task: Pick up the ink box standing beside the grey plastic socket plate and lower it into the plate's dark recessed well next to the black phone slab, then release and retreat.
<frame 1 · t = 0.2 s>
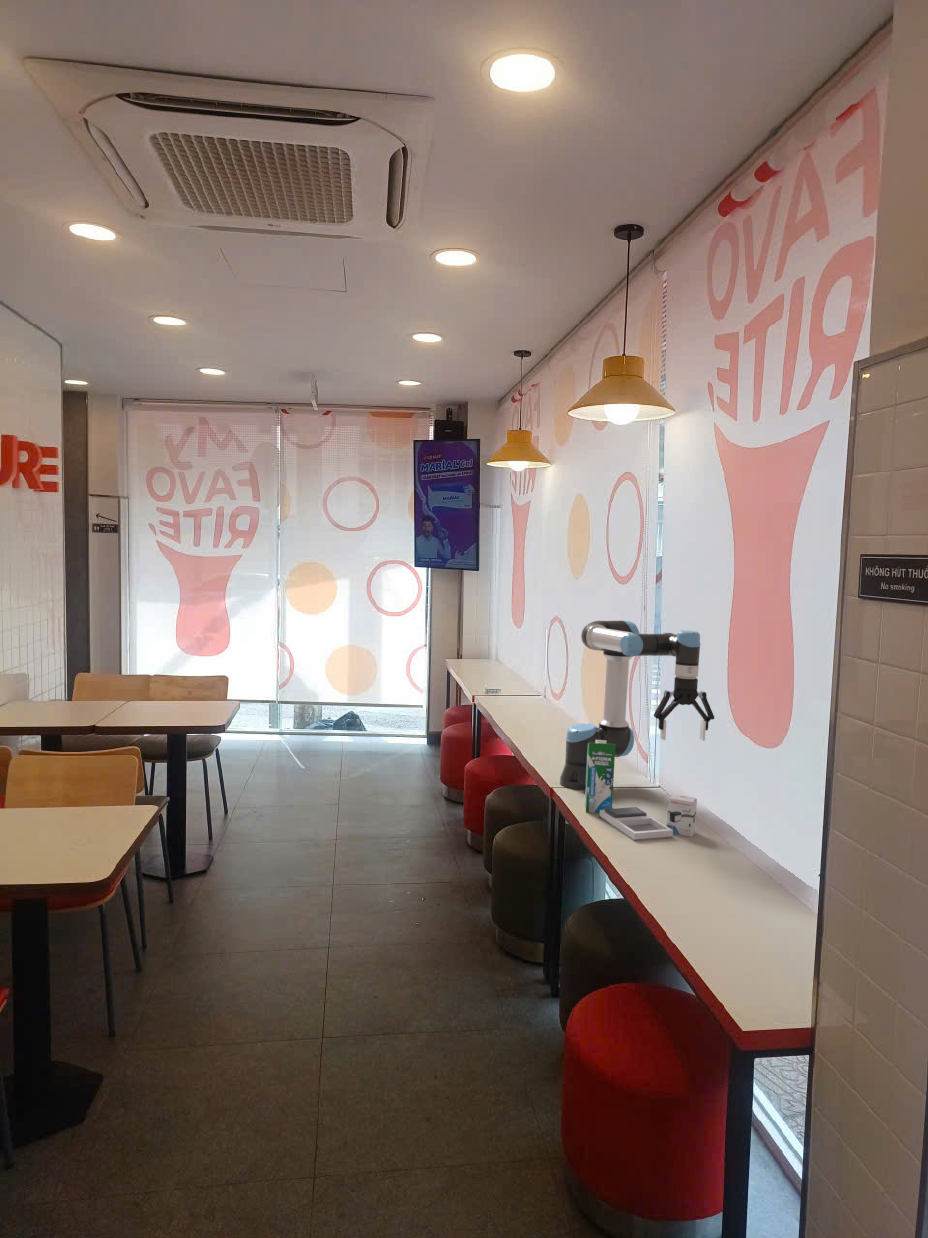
hand: (682, 739, 279), 29 cm above the table, fingers open, 13 cm apart
phone slab: (625, 813, 282), resting on socket plate
ink box: (680, 833, 273), on the table
socket plate: (634, 827, 277), on the table
milk carton: (598, 809, 294), on the table
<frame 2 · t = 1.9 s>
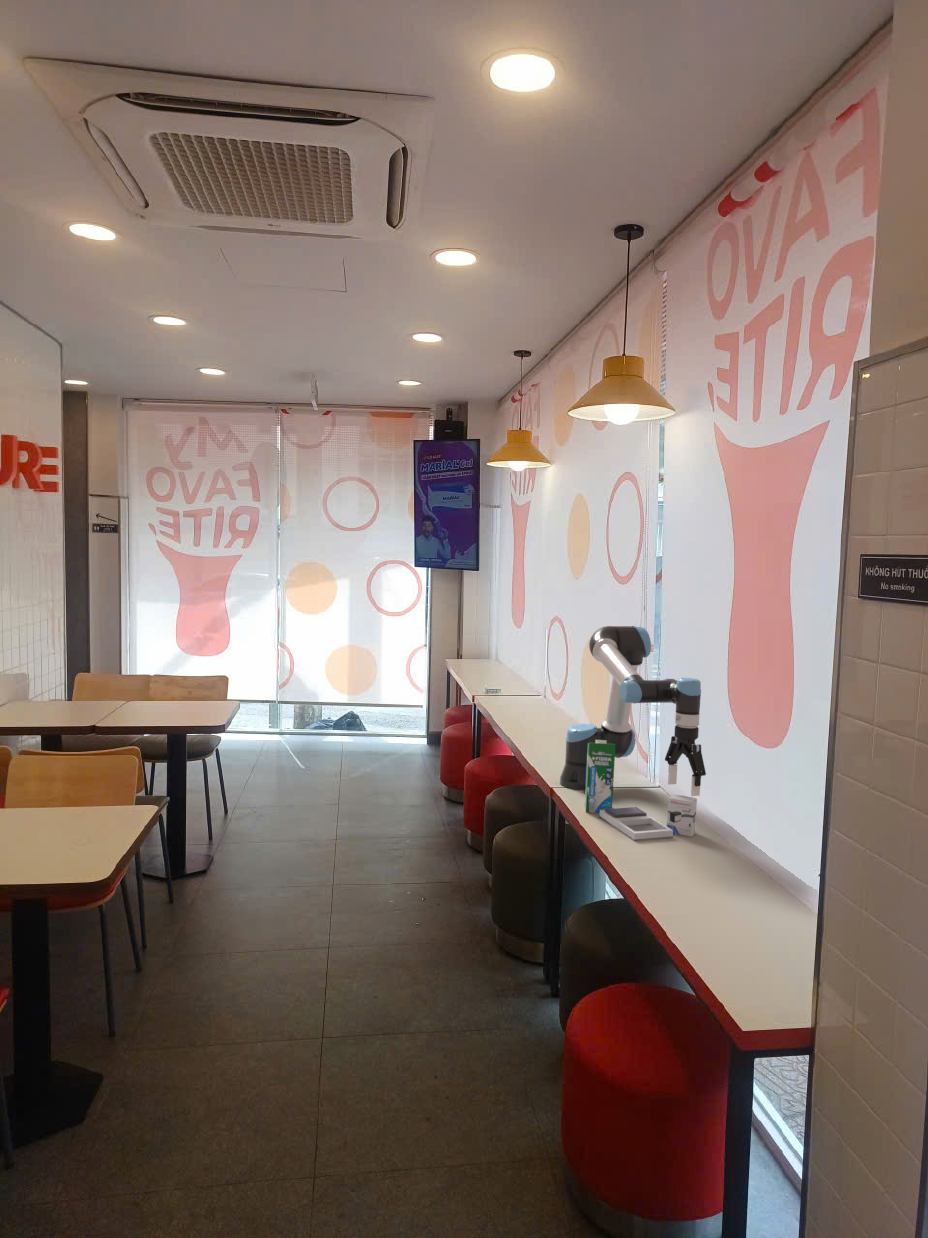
hand: (683, 789, 271), 14 cm above the table, fingers open, 13 cm apart
nothing on the table moved.
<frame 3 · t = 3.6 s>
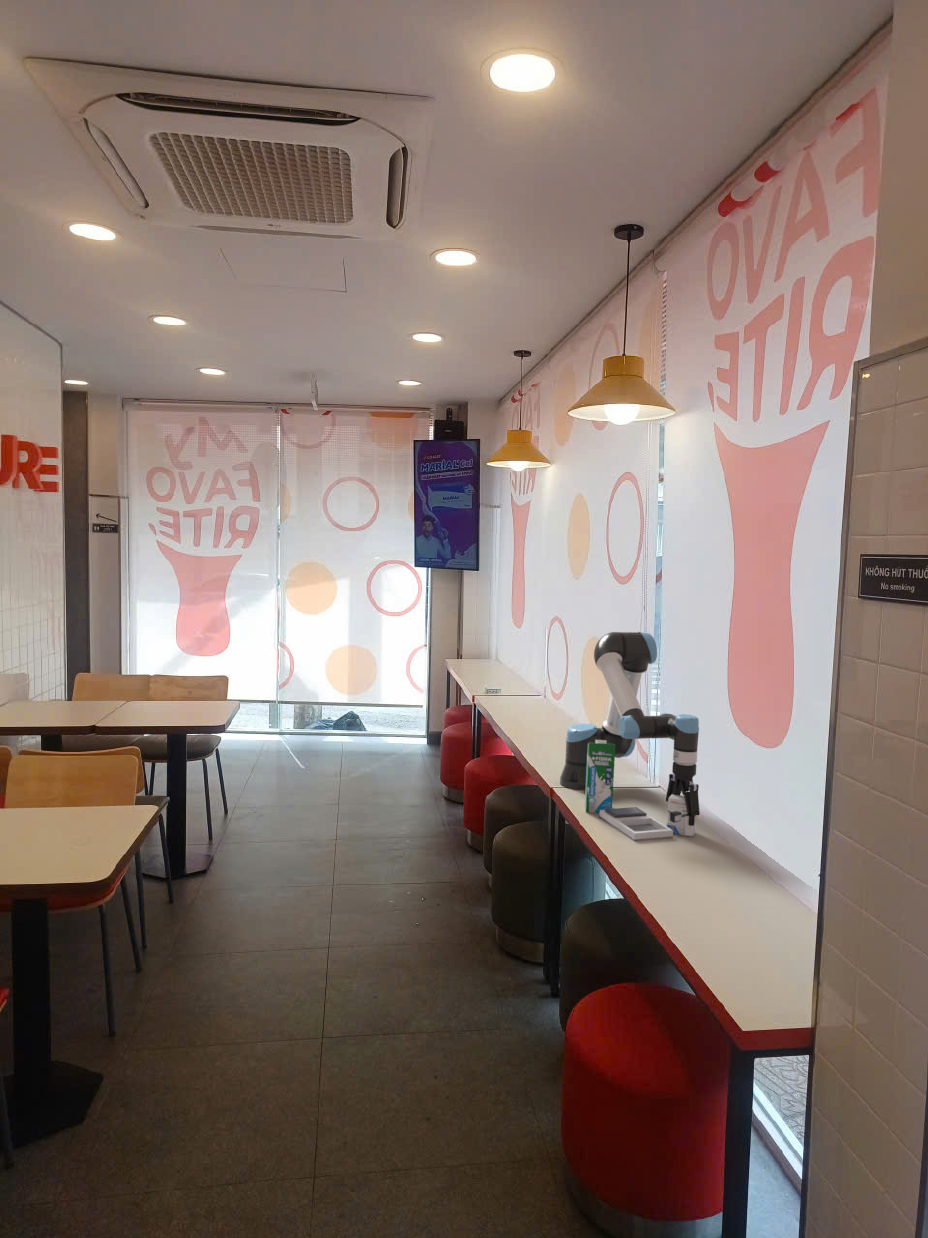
hand: (680, 829, 273), 1 cm above the table, fingers closed on ink box, 9 cm apart
ink box: (680, 833, 273), on the table, touching gripper
everything else where it was.
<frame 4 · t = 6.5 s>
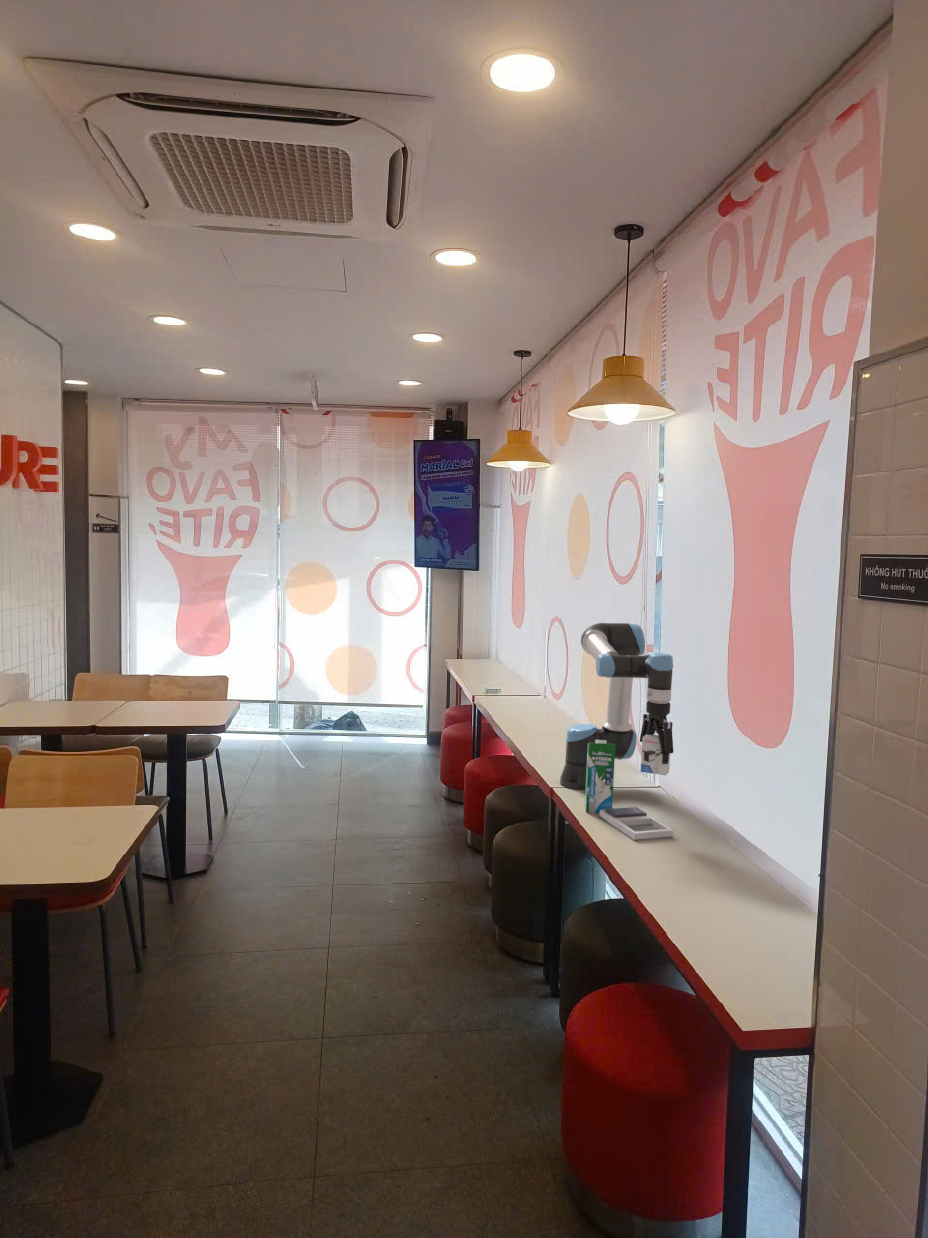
hand: (654, 769, 270), 21 cm above the table, fingers closed on ink box, 9 cm apart
ink box: (654, 772, 270), point 20 cm above the table, touching gripper
everything else where it was.
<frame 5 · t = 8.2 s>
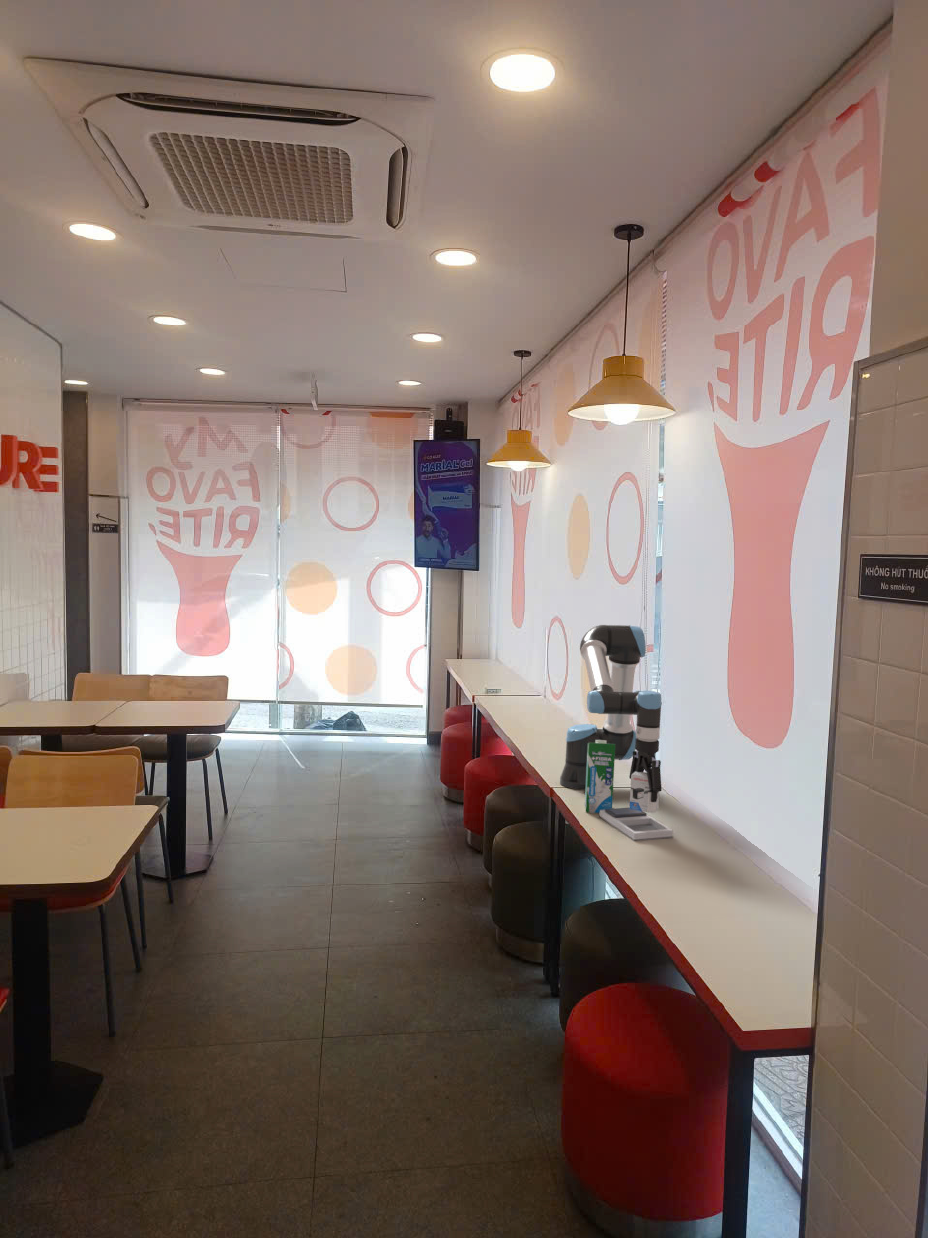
hand: (643, 806, 271), 9 cm above the table, fingers closed on ink box, 9 cm apart
ink box: (643, 810, 271), point 7 cm above the table, touching gripper
everything else where it was.
when the fingers open (4 cm above the table, at t = 9.4 s): ink box drops 2 cm, resting on socket plate.
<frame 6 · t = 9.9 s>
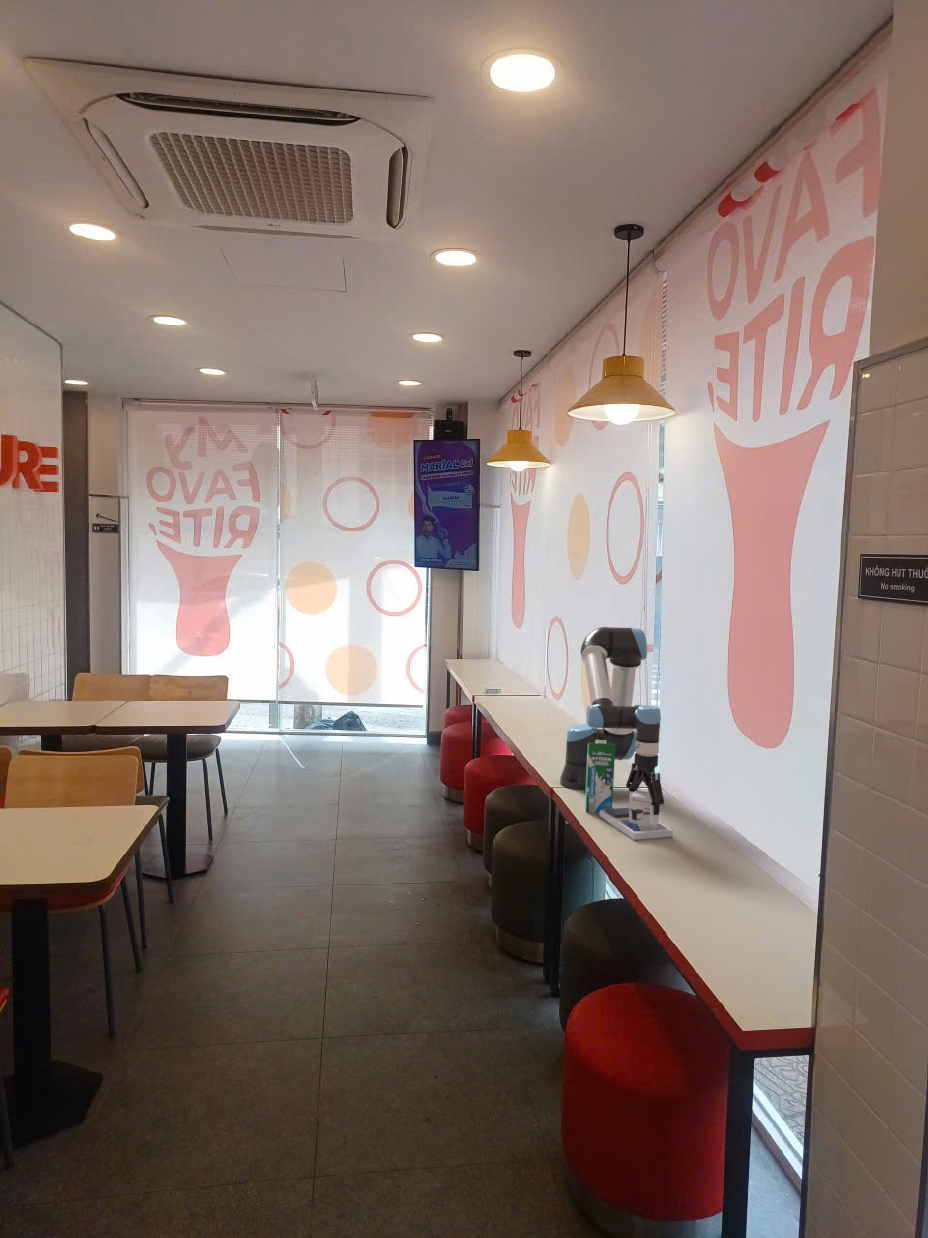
hand: (643, 817, 271), 5 cm above the table, fingers open, 13 cm apart
ink box: (642, 831, 272), resting on socket plate
everything else where it was.
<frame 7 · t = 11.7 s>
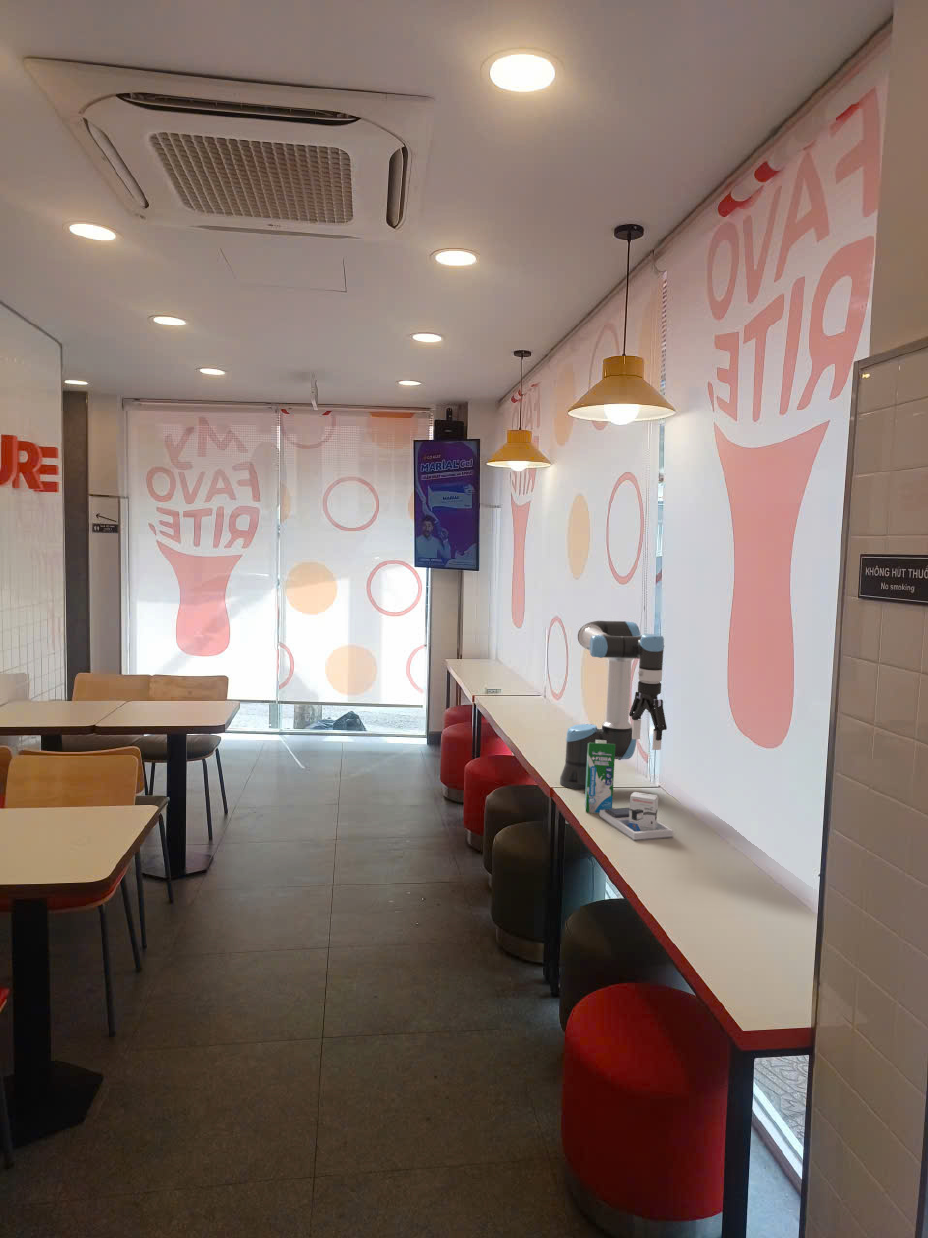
hand: (645, 744, 275), 28 cm above the table, fingers open, 13 cm apart
nothing on the table moved.
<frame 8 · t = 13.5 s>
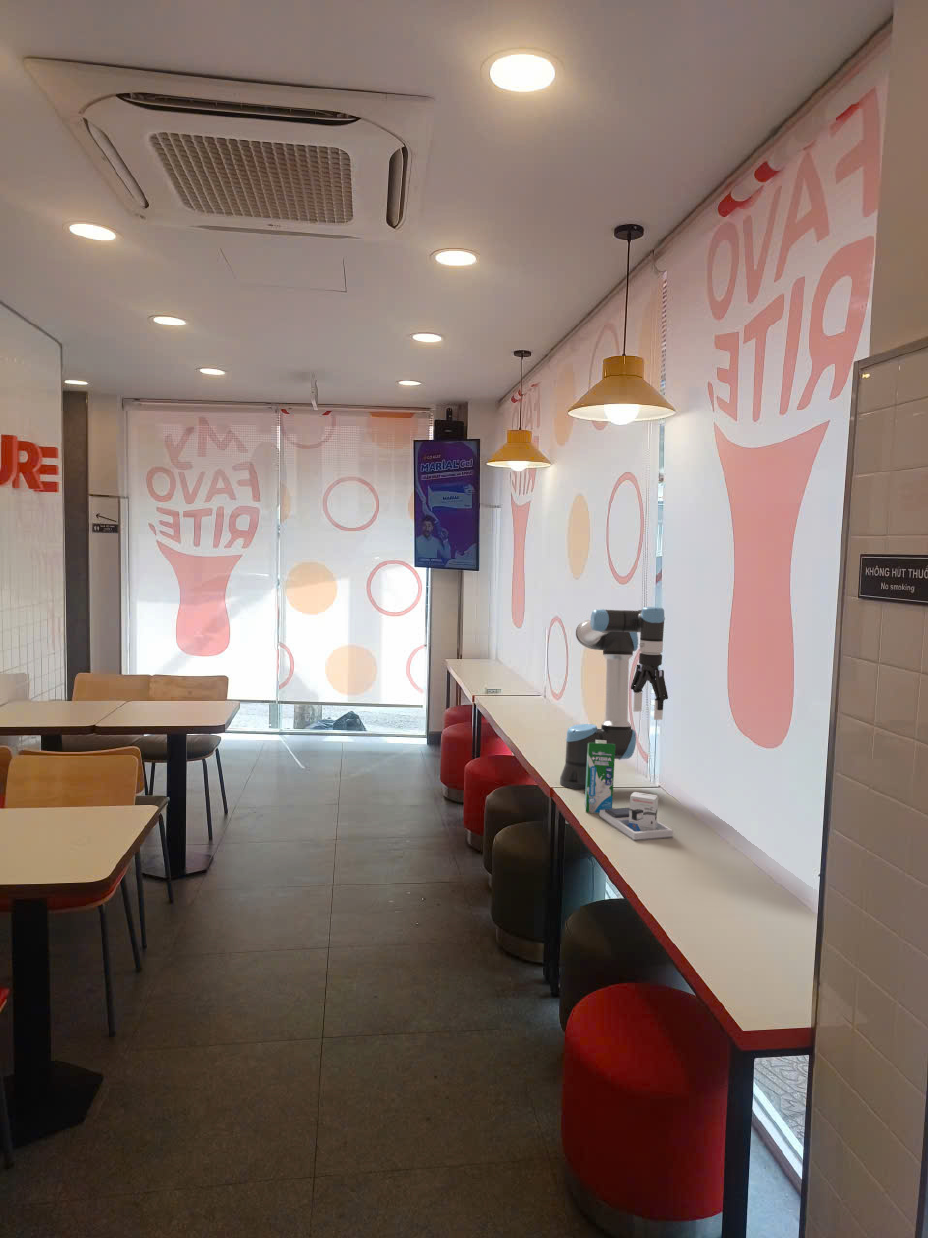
hand: (647, 715, 280), 37 cm above the table, fingers open, 13 cm apart
nothing on the table moved.
at the end: ink box inside the target area on the socket plate (0.3 cm from its centre), point 0.3 cm above the socket plate's base; ink box tilted 0°; the gripper is holding nothing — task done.
